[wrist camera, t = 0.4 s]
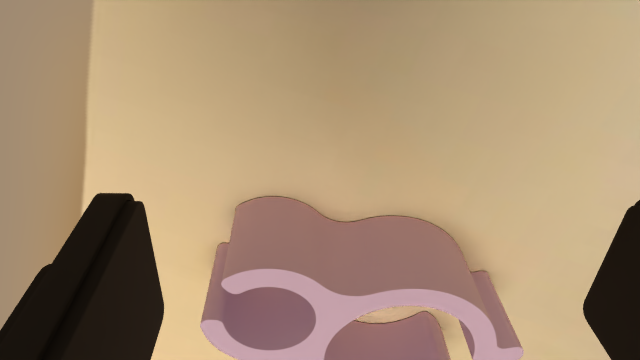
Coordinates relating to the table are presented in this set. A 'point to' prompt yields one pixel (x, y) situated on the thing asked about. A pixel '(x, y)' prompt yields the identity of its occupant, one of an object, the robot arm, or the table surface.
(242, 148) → the table surface
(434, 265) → the clip
